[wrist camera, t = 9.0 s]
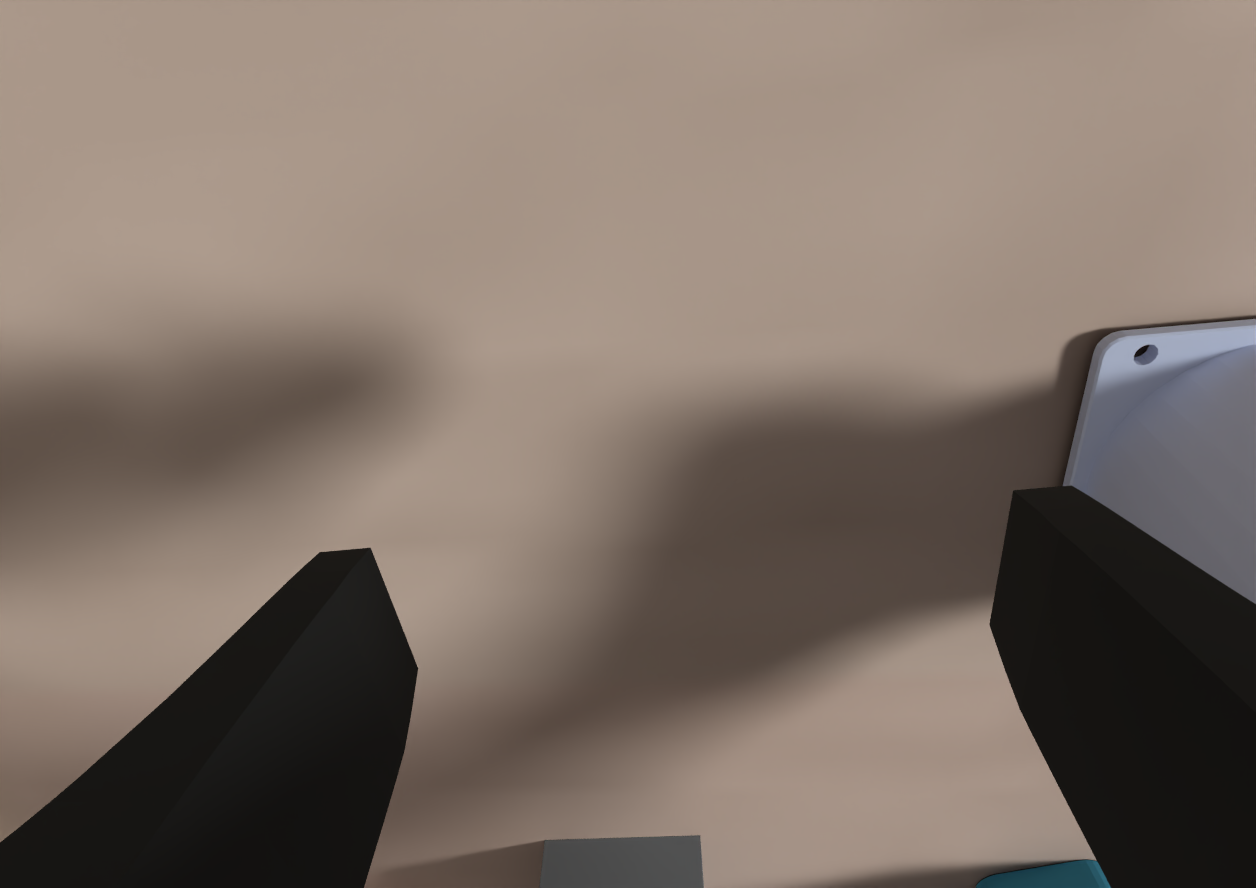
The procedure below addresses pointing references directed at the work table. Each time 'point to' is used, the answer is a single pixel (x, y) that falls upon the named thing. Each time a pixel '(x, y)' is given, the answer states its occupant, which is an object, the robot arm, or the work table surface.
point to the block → (1051, 877)
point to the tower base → (623, 863)
